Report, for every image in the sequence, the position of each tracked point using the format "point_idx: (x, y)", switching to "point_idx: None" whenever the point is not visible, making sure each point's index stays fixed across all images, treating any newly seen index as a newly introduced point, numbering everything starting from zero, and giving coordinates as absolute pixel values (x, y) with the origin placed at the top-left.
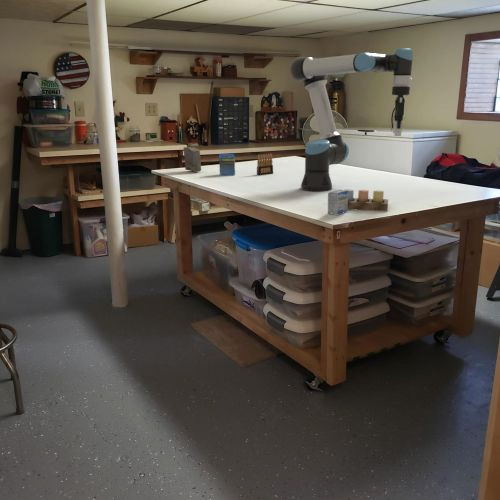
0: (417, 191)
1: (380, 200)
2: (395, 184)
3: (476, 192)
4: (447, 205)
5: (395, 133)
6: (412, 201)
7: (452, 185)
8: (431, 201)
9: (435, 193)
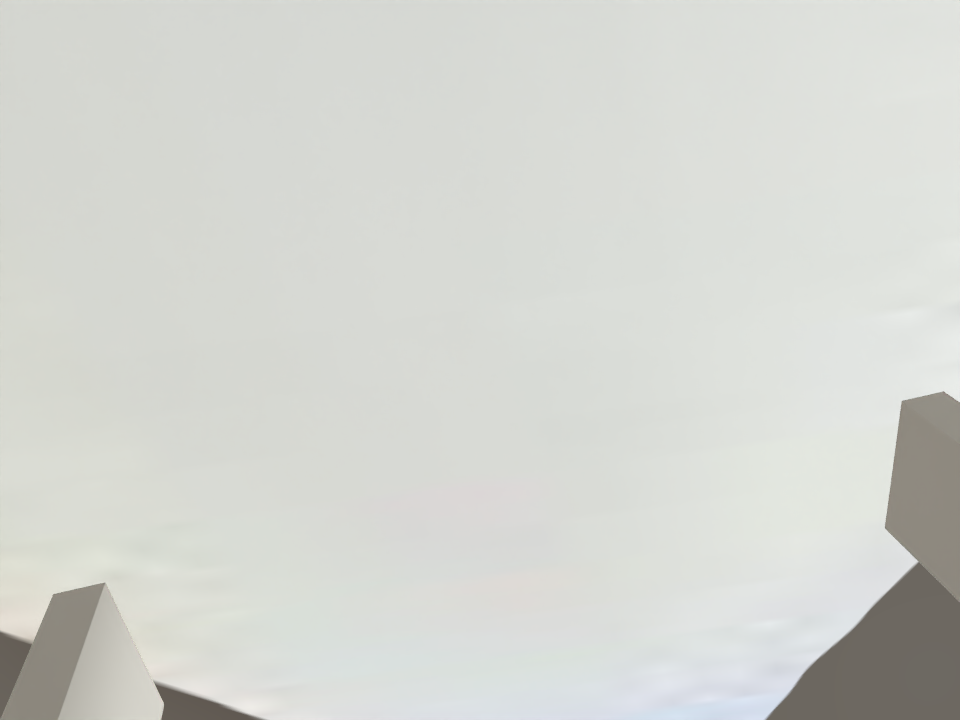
0: (538, 375)
1: None
2: (856, 144)
3: (602, 702)
4: (32, 637)
5: (35, 668)
6: (49, 405)
7: (843, 554)
8: (132, 528)
9: (489, 504)
